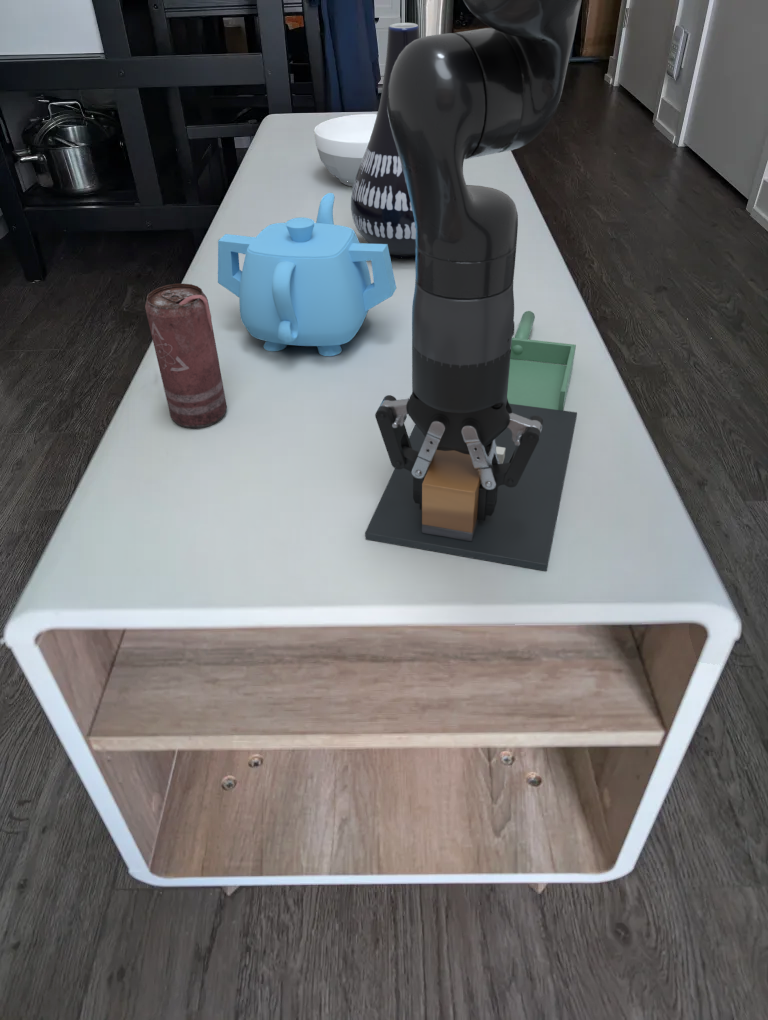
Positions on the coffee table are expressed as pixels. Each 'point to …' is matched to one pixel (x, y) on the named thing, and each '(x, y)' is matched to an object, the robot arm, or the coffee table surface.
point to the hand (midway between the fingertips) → (454, 508)
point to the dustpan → (538, 369)
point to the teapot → (305, 281)
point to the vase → (385, 171)
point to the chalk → (500, 454)
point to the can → (186, 354)
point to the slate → (518, 512)
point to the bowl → (344, 144)
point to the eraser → (450, 496)
